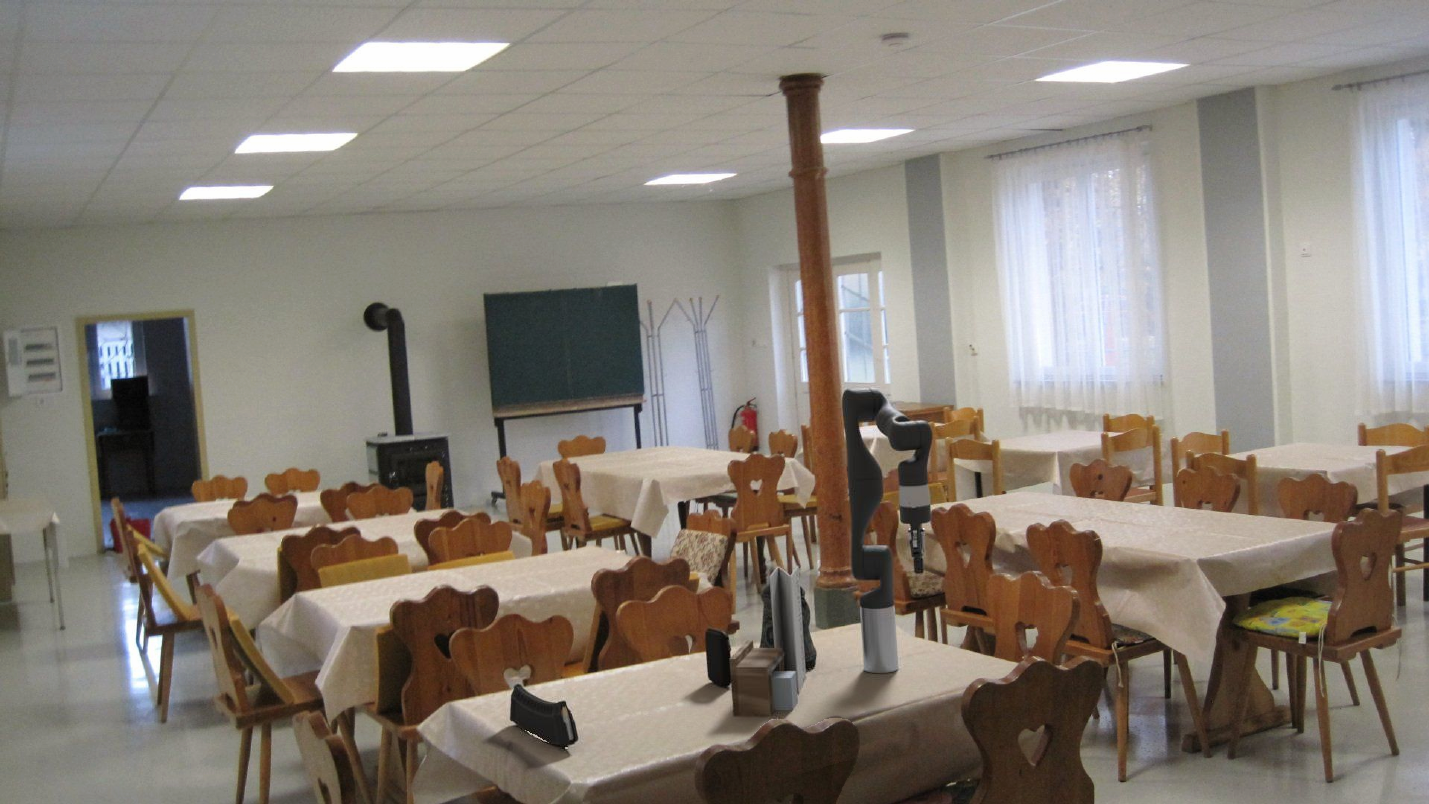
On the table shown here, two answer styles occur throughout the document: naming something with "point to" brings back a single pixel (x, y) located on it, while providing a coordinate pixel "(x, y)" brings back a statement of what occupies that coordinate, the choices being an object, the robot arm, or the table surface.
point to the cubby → (754, 679)
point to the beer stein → (767, 627)
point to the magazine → (543, 717)
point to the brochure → (788, 621)
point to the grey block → (784, 690)
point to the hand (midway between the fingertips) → (919, 572)
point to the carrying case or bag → (718, 657)
